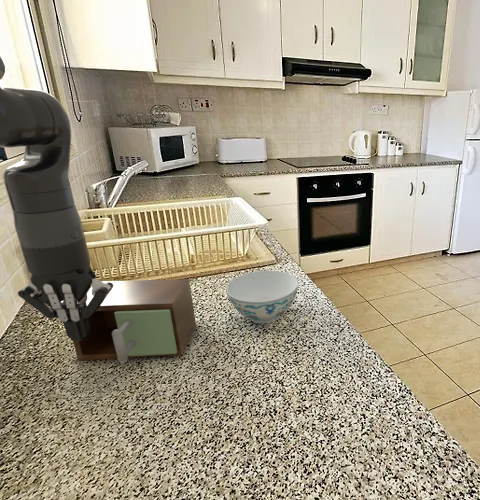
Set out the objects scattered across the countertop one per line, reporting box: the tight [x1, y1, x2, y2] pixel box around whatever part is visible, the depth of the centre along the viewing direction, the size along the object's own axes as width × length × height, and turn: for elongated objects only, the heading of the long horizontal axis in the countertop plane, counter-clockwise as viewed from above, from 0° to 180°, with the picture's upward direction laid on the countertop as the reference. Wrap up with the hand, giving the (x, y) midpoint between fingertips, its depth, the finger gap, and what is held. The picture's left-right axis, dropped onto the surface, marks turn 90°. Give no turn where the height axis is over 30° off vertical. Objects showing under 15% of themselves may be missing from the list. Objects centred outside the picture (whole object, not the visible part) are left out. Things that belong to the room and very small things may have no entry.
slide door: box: [112, 309, 177, 364], centre depth 64 cm, size 9×5×9 cm, turn 96°
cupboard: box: [72, 278, 197, 361], centre depth 71 cm, size 18×10×11 cm, turn 96°
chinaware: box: [225, 269, 299, 325], centre depth 82 cm, size 15×15×8 cm
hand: (80, 337), depth 61 cm, fingers closed
